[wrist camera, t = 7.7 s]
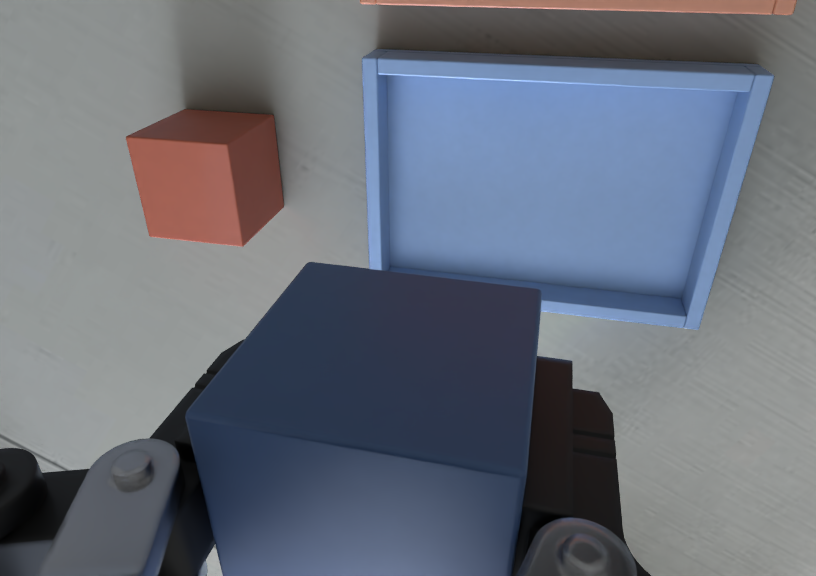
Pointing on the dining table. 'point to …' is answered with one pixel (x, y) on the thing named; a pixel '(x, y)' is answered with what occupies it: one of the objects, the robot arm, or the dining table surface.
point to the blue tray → (560, 174)
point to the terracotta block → (208, 175)
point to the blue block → (372, 428)
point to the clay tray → (618, 5)
